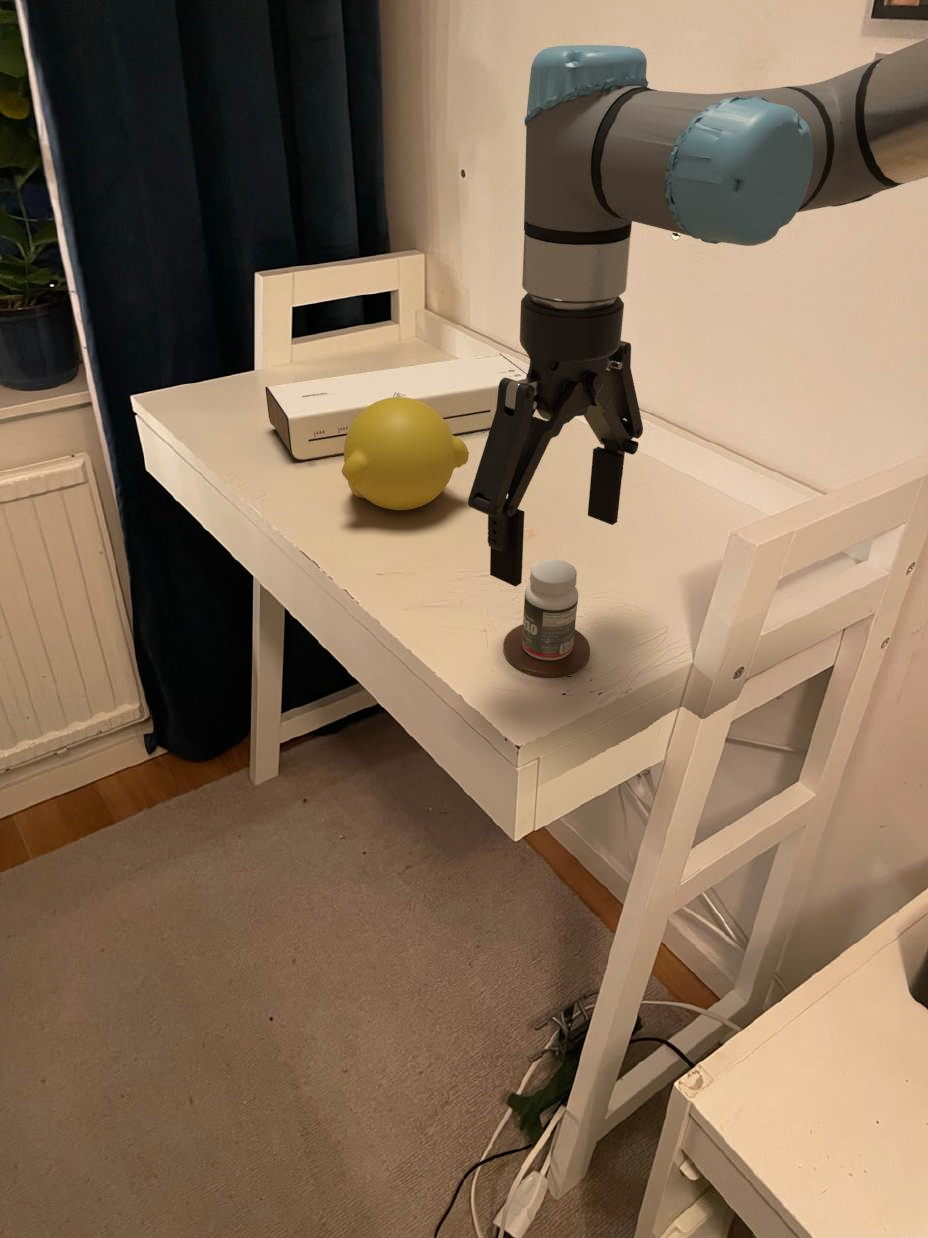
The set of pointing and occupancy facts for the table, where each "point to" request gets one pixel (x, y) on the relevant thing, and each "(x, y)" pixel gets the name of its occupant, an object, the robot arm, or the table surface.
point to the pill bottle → (550, 610)
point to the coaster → (545, 667)
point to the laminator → (329, 406)
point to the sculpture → (400, 454)
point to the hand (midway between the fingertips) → (556, 547)
